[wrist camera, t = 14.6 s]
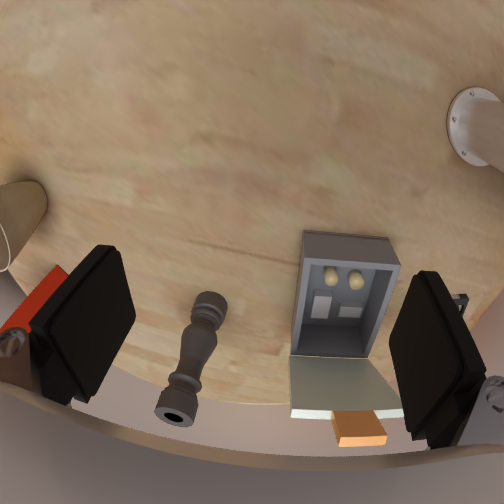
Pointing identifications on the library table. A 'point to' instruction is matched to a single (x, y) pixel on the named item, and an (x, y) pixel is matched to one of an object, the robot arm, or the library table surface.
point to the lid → (343, 397)
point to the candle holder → (192, 361)
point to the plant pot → (19, 217)
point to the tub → (341, 293)
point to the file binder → (35, 300)
